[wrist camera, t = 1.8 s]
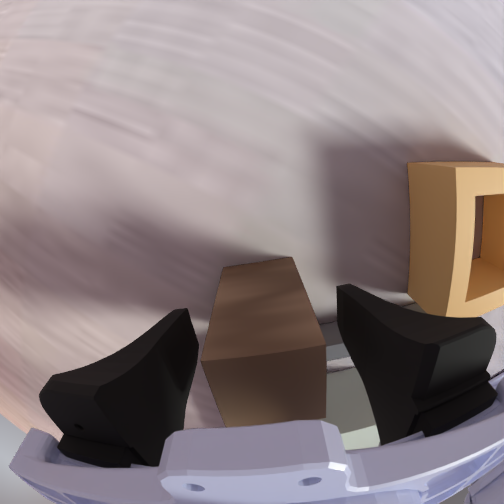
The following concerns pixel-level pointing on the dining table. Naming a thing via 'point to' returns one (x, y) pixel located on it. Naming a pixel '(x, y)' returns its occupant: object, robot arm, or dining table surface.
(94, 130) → the dining table surface
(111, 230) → the dining table surface
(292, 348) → the rod
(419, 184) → the socket
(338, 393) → the block
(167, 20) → the dining table surface
